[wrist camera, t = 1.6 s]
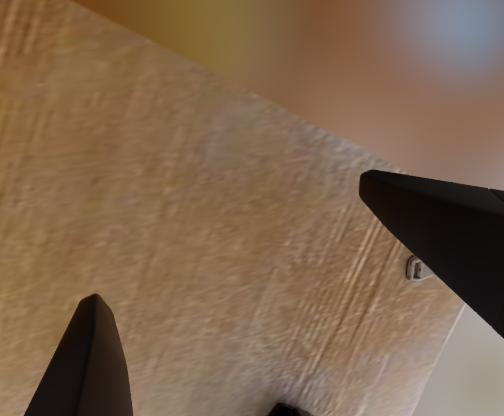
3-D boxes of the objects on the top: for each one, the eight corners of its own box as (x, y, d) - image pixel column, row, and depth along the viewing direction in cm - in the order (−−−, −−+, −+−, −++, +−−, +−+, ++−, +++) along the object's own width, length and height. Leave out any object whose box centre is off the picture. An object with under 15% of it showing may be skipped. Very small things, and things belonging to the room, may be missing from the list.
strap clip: (404, 280, 37) (436, 297, 33) (406, 257, 36) (439, 272, 32) (453, 265, 40) (488, 280, 36) (457, 244, 39) (492, 257, 35)
